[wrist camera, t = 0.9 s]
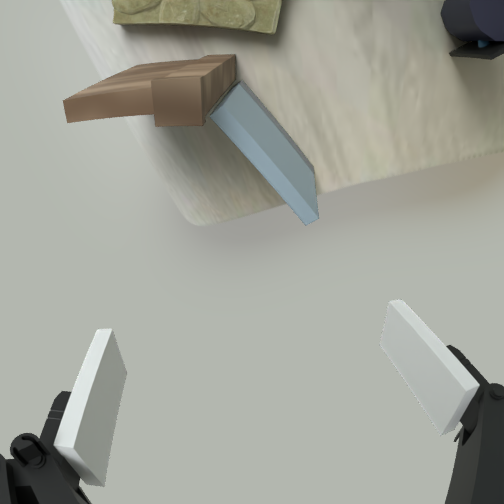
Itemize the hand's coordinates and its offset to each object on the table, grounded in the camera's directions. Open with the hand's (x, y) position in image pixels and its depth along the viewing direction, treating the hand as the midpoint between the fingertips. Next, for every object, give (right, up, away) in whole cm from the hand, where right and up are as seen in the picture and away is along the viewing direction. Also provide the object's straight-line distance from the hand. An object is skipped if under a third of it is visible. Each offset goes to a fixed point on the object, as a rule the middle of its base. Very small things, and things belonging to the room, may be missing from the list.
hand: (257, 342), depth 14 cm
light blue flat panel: (+2, +18, +21) cm, 28 cm away
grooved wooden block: (-8, +25, +17) cm, 31 cm away
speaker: (+22, +30, +8) cm, 38 cm away
